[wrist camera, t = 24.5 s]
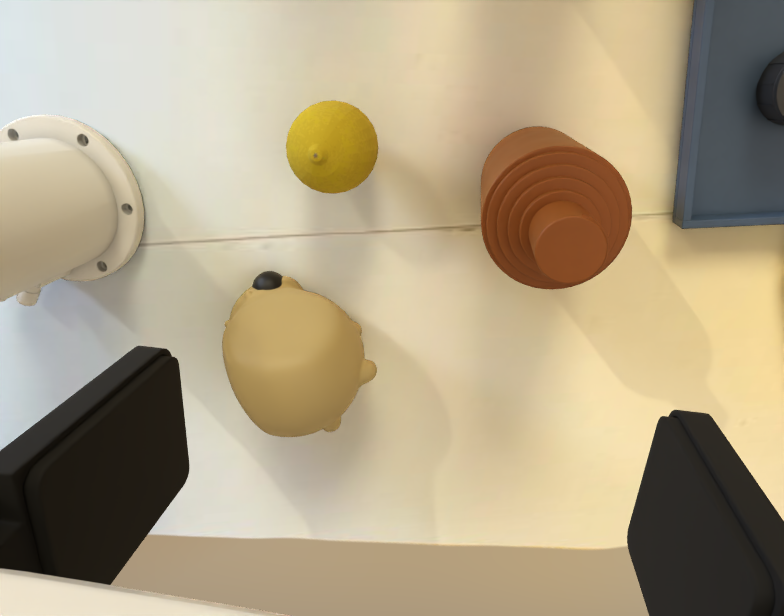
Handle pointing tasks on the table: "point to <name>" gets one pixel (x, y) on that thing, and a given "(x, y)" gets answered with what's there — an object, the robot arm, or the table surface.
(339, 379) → the toy pig
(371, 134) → the lemon
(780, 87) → the black cap
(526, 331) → the table surface
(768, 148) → the slate tray
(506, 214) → the amber bottle
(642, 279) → the table surface
